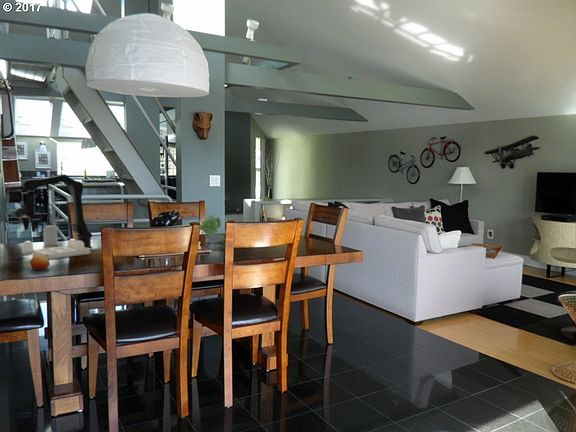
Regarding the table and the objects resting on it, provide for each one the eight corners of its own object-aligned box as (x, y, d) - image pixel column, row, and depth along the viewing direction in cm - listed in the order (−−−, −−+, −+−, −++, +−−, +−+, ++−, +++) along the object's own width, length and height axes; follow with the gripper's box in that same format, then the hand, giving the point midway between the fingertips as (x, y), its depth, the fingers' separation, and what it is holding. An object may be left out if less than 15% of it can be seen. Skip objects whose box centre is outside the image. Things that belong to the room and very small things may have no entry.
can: (51, 246, 275) (51, 226, 274) (40, 245, 276) (40, 226, 275) (60, 244, 282) (59, 225, 281) (49, 243, 284) (49, 224, 283)
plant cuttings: (222, 248, 319) (197, 229, 317) (237, 229, 318) (212, 210, 316) (217, 258, 284) (188, 236, 282) (234, 237, 283) (205, 215, 281)
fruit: (31, 265, 216) (39, 250, 216) (46, 273, 217) (54, 259, 217) (22, 268, 208) (31, 253, 208) (38, 277, 209) (47, 262, 209)
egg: (30, 252, 256) (30, 239, 255) (34, 253, 253) (34, 240, 252) (21, 253, 252) (20, 240, 252) (25, 254, 249) (24, 241, 248)
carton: (76, 250, 265) (76, 237, 264) (90, 253, 255) (90, 240, 254) (33, 255, 246) (32, 241, 246) (46, 259, 236) (45, 245, 235)
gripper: (5, 202, 249) (6, 230, 250) (20, 204, 237) (21, 234, 239) (27, 201, 257) (28, 228, 259) (42, 203, 246) (43, 232, 247)
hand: (29, 231), depth 251 cm, fingers open, 9 cm apart
